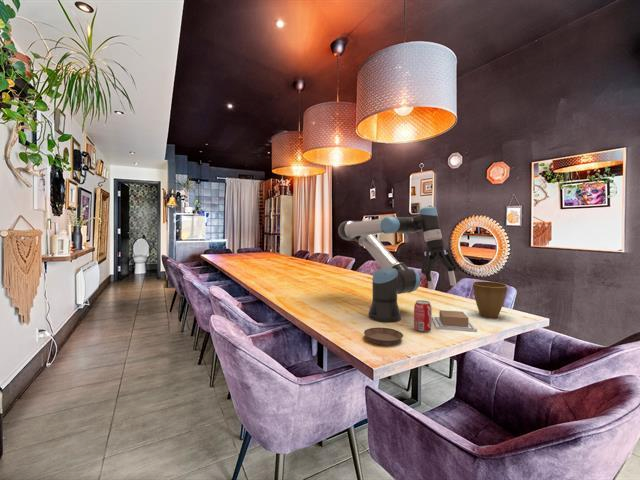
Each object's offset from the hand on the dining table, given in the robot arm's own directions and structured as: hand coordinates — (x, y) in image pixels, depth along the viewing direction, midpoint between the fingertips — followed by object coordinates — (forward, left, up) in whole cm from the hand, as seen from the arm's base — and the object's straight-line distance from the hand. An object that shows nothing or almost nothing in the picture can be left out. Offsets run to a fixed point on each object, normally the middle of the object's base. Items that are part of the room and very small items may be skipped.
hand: (443, 287), depth 131 cm
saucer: (-25, -23, -18) cm, 39 cm away
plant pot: (+25, +21, -17) cm, 37 cm away
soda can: (-9, -8, -17) cm, 21 cm away
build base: (+5, +2, -17) cm, 18 cm away
